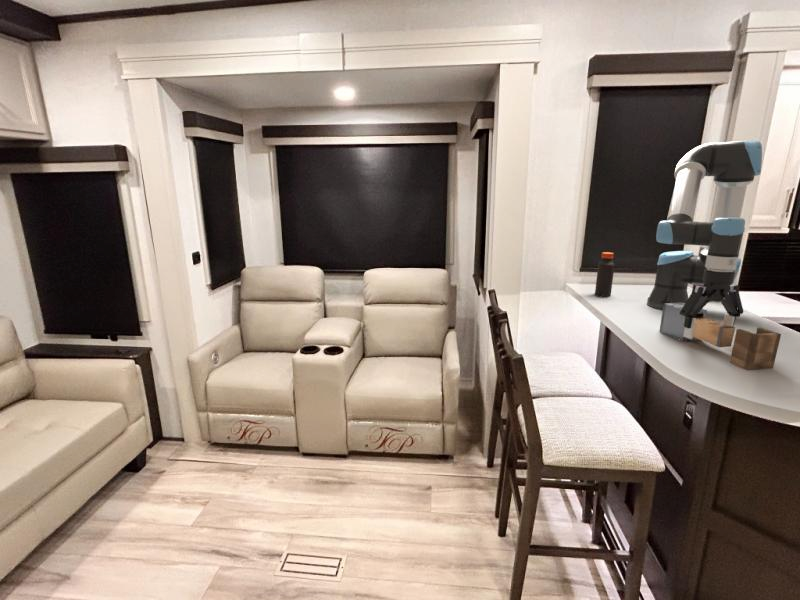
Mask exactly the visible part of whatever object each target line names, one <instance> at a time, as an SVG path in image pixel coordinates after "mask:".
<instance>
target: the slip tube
mask: <svg viewBox="0 0 800 600" xmlns="http://www.w3.org/2000/svg"><path fill="white" fill-rule="evenodd" d="M694 318H695V319H696V323H695V329H694V334H693V337H695V338H697V339H700V340H699V341H703V342H705V343H708V344H709V345H712V346H715V347H717V348H730V347H732V346H733V341H734V340H733V339H734V336H735V335H734V334H735V332H736V327H735V326H728V325H726V324H723V322H719V321H716V320H714V319H710V318H708V317H706V318H705V317H702V316H699V315H696V316H695V317H694Z"/></svg>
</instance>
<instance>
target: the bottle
mask: <svg viewBox="0 0 800 600" xmlns="http://www.w3.org/2000/svg"><path fill="white" fill-rule="evenodd" d="M613 259H614V252H609V251H606V252H605V251H604V252H601V260H600V261H599V262H598V266H597V274H596V281H595V282H596V283H595V289H594V295H595V296H596V295H597V296H596V297H600V296H602V298H609V297H611V296H612V288H613V282H614V281H613V280H614V273H615V272H614V271H615V263H614V262H613Z"/></svg>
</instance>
